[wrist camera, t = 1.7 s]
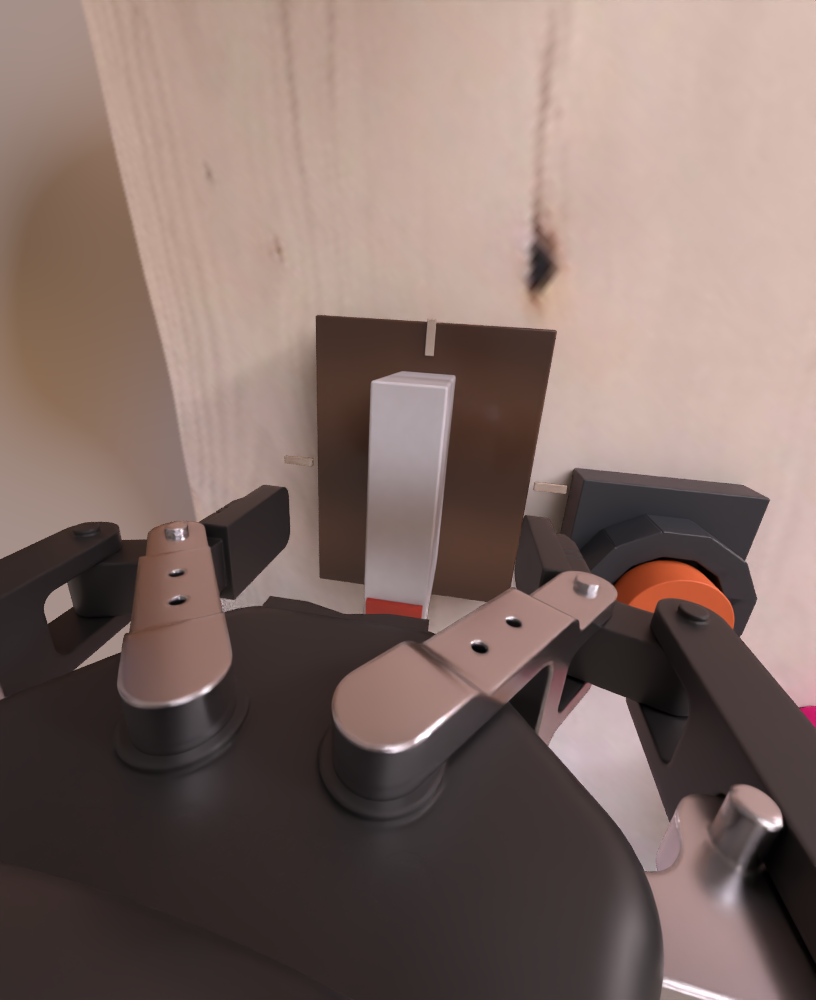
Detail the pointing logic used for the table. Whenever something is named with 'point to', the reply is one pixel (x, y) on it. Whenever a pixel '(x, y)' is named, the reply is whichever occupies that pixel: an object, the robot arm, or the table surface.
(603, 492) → the grey base
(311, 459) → the block
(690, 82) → the table surface
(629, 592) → the button
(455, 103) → the table surface
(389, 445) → the white bar red tip
